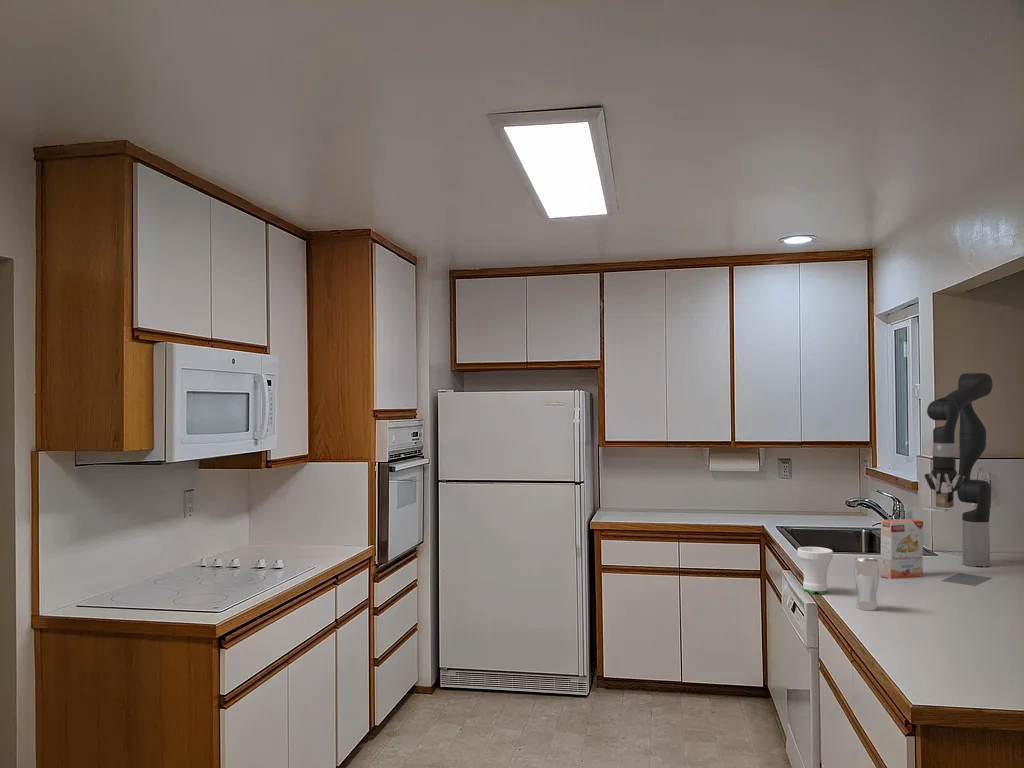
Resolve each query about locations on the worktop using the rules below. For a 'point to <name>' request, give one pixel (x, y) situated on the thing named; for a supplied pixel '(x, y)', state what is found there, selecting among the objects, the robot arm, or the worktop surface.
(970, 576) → the mat
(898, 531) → the cracker box
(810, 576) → the cup
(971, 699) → the worktop surface
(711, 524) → the worktop surface
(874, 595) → the beer glass
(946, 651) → the worktop surface
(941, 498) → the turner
